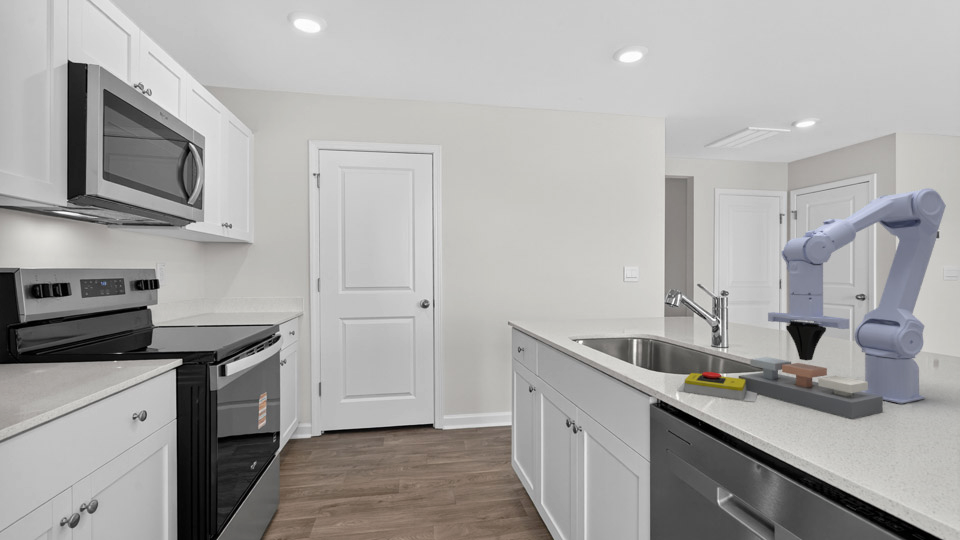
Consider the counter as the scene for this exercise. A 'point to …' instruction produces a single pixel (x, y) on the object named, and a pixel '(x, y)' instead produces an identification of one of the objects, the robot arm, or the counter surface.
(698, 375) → the emergency button
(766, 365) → the slate key
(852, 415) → the key console
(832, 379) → the ivory key
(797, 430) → the counter surface
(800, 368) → the terracotta key
